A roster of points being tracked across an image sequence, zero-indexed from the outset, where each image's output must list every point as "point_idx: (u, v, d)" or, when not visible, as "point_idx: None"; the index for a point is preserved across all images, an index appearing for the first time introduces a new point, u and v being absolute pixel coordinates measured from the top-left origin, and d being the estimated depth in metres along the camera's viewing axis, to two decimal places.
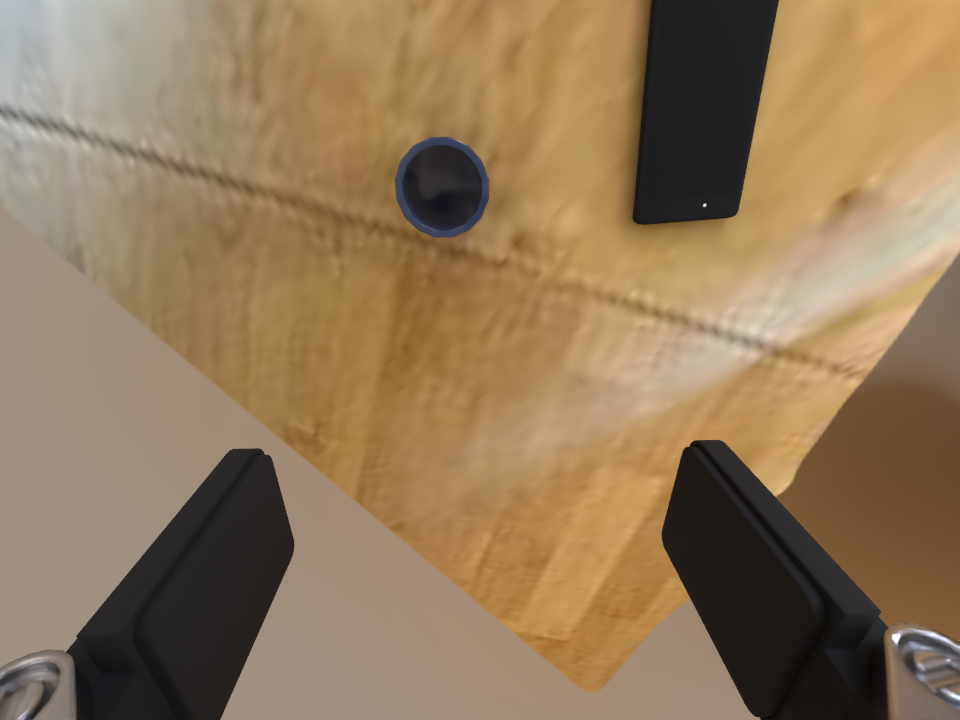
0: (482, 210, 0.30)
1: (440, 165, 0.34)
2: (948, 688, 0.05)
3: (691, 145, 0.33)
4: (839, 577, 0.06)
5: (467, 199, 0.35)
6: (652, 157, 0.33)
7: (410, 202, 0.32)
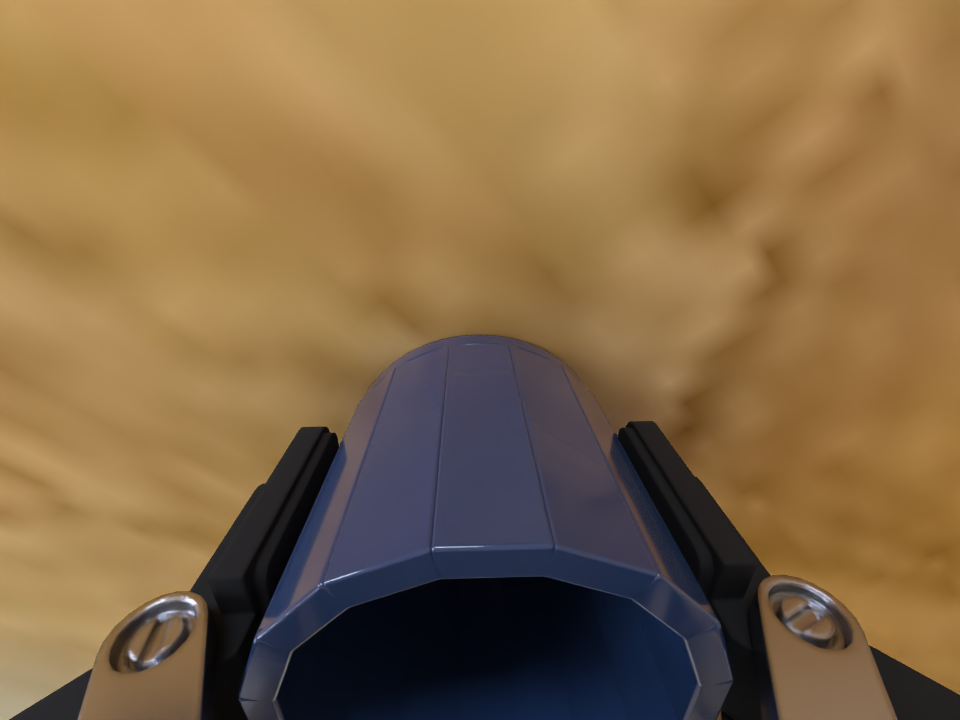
0: (621, 574, 0.05)
1: None
2: (809, 628, 0.06)
3: None
4: (728, 536, 0.07)
5: None
6: None
7: (531, 654, 0.09)
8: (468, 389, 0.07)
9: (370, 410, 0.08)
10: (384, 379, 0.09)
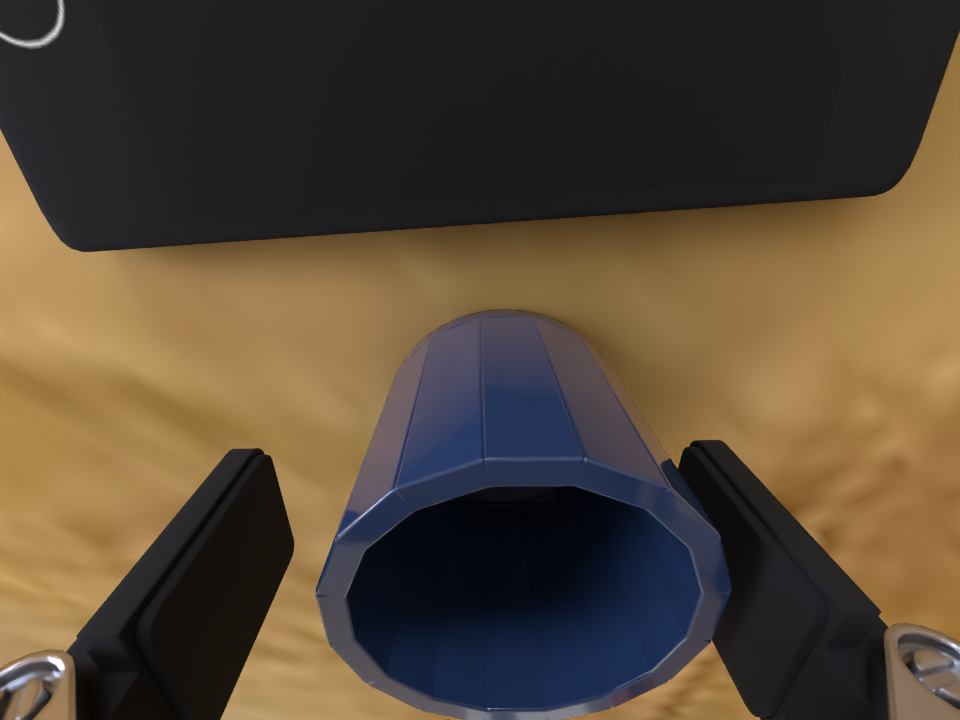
0: (638, 485, 0.06)
1: None
2: (948, 688, 0.05)
3: None
4: (839, 577, 0.06)
5: None
6: (658, 164, 0.08)
7: (551, 595, 0.10)
8: (501, 351, 0.08)
9: (412, 372, 0.09)
10: (421, 348, 0.10)
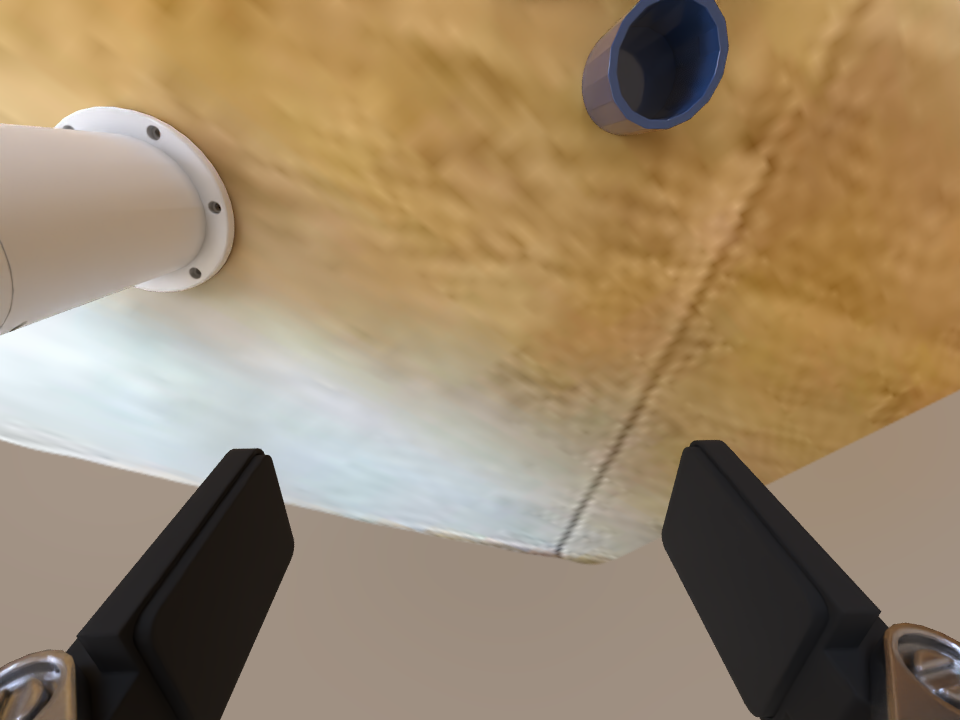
0: None
1: None
2: (948, 688, 0.05)
3: None
4: (839, 577, 0.06)
5: (653, 46, 0.27)
6: None
7: (660, 119, 0.26)
8: None
9: (612, 26, 0.26)
10: (608, 30, 0.27)
